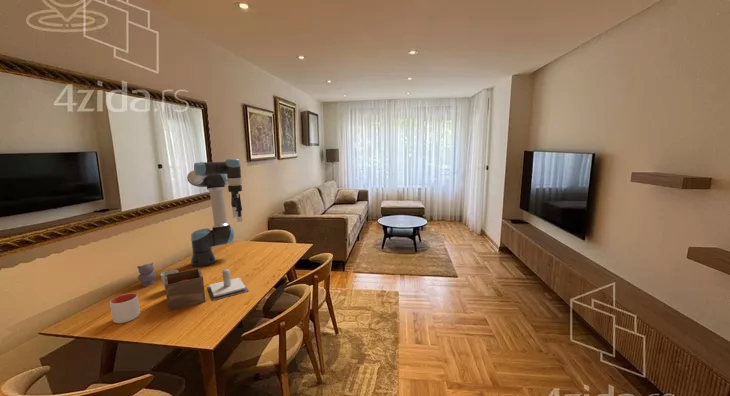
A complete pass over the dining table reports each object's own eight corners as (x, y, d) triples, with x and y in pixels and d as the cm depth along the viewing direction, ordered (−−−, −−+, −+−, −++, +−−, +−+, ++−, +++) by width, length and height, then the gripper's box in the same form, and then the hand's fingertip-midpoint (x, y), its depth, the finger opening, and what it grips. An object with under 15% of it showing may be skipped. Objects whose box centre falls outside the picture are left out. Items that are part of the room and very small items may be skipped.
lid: (209, 287, 167) (207, 269, 165) (239, 280, 176) (238, 263, 174) (214, 298, 154) (212, 279, 152) (246, 290, 163) (244, 271, 161)
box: (167, 298, 156) (164, 274, 154) (201, 289, 165) (199, 267, 163) (168, 311, 143) (165, 285, 141) (205, 301, 152) (203, 277, 150)
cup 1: (123, 313, 141) (120, 293, 140) (145, 312, 142) (142, 292, 141) (107, 325, 131) (103, 304, 130) (130, 323, 132) (127, 303, 131)
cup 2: (183, 287, 168) (181, 270, 167) (169, 293, 160) (167, 276, 159) (172, 285, 171) (170, 269, 169) (159, 291, 163) (156, 274, 162)
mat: (207, 287, 167) (207, 287, 167) (240, 279, 178) (240, 279, 178) (212, 300, 152) (212, 300, 152) (248, 291, 162) (248, 290, 162)
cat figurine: (140, 288, 168) (137, 268, 166) (137, 284, 173) (134, 265, 171) (158, 283, 174) (155, 264, 172) (155, 279, 179) (152, 260, 177)
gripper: (224, 183, 184) (227, 216, 187) (231, 187, 163) (234, 224, 167) (237, 182, 188) (239, 215, 191) (246, 186, 167) (248, 222, 171)
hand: (237, 219), depth 179 cm, fingers open, 13 cm apart
